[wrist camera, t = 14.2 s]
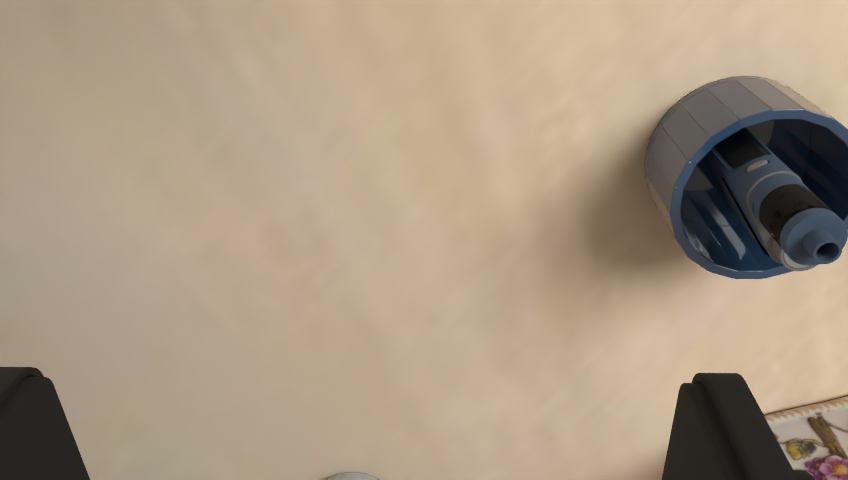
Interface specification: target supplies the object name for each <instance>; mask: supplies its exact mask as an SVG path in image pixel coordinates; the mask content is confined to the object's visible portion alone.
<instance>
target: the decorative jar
mask: <svg viewBox="0 0 848 480" xmlns="http://www.w3.org/2000/svg"><path fill="white" fill-rule="evenodd" d="M764 417H765V419H766V420H767V422H768V424H769V426H770V428H771V430H772V431H773V433H774V435H775V437H776V439H777V441H778V443H779V444H780V446H781V448H782V450H783V452H784V454H785V455H786V457H787V459H788V461H789V463H790V465H791V466H792V468H793V470H804V471H807V472H808V473H809V474H811V475H812V476H813V477H814V478H815V480H848V396H846V397H842V398H838V399H834V400H831V401H827V402H823V403H819V404H812V405H807V406H803V407H798V408H794V409H789V410H785V411H780V412H777V413H772V414H768V415H765V416H764Z"/></svg>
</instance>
